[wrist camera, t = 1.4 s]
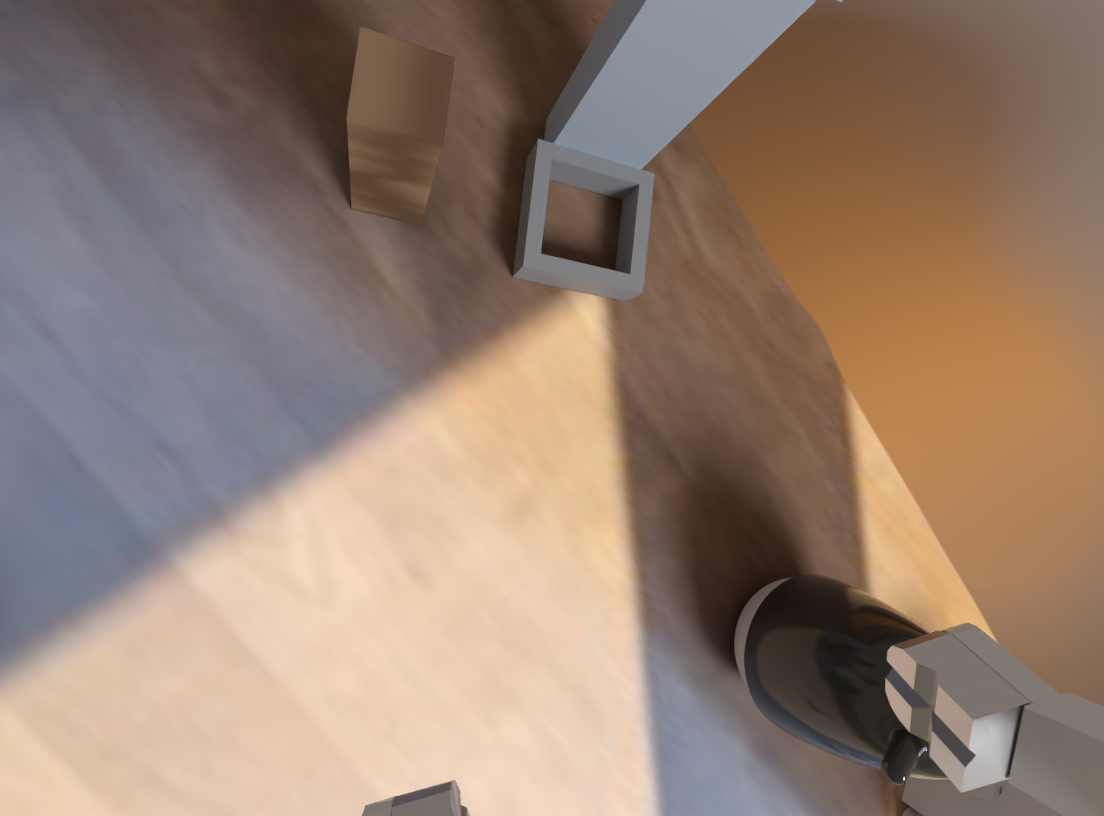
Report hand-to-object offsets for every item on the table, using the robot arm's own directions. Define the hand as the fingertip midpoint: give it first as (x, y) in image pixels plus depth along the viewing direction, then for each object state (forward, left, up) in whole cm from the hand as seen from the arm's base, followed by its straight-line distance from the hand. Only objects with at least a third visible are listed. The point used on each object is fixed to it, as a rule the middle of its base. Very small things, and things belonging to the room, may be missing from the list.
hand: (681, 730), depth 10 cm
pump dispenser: (+24, -6, -25) cm, 35 cm away
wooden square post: (-6, +20, -25) cm, 32 cm away
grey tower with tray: (+6, +21, -25) cm, 33 cm away
